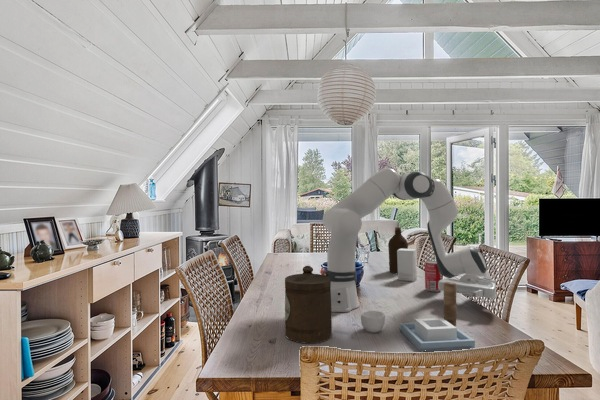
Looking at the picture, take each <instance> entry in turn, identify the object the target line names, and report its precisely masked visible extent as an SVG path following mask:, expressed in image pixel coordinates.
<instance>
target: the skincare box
mask: <svg viewBox="0 0 600 400" xmlns="http://www.w3.org/2000/svg"><path fill="white" fill-rule="evenodd" d="M397 263H398V274H397V280H398V281H405V282H415V281H417V278H418V277H417V276H418V275H417V273H418V271H417V249H415V248H408V249H402V248H401V249H399V250H397Z"/></svg>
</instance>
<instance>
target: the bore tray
mask: <svg viewBox="0 0 600 400" xmlns="http://www.w3.org/2000/svg"><path fill="white" fill-rule="evenodd" d="M399 325H400V326H399V327H400V329H399V331H400V332H401V334H402V335H404V337H405V338H407V340H409V341H410V343H412V344H413V346H414V347H416V348H417V350H419V351H420V350H421V351H425V350H426V351H432V352H446V351H445V350H450V351H460V350H459V349H468V350H471V349H470V348H475V349H476V346H475V345H476V343H475V342H476V341H475V339H473V338H472V337H471V336H469V335H468V334H466V333H465V332H463V331H462V330H461V329H459V328H457V327H456V326H453V325H452V324H451V323H449V322H448V321H446V320H445V319H444V317H431V318H430V317H429V318H414V322H403V323H401V322H400V324H399ZM421 351H420V352H421Z"/></svg>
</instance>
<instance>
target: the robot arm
mask: <svg viewBox="0 0 600 400" xmlns="http://www.w3.org/2000/svg"><path fill="white" fill-rule="evenodd" d="M390 196H394V197H395V199H398V200H401V201H406V200H407V201H408V200H409V201H411V200H412V201H414V200H417V199H420V200H421V202H423V203H424V205H425V207H426V209H427V212H428V214H429V220H428V222H427V223H426V228H427V232H428V236H429V239H430V243H431V247H432V249H433V253H434V257H435V261H436V262H437V267H438V270H439V272H440V274H441V276H443V277H444V278H443V279H442V280H440V281H439V282H438V289H439V290H440V292H444V282H454V283H456V294H460V295H465V296H466V297H470V298H478V297H479V298H486V299H496V297H497V285H496V280H495V279H493V278H491V275H490V273H489V271H488V264H487V260H486V258H485V256H484V255H483V253H482V252H481V251H480V250H478V249H477V248H475V247H472V246H471V247H467V248H463V249H461V250H457V251H454V252H449V253H448V252H447V251H446V248H445V245H444V242H443V241H444V240H443V239H442V232H443V231H445V229H446V228H448V227H449V226H450V225H451V224H452V223H453V222H454V221H455V220H456V219H457V216H458V212H459V211H458V207H457V204H456V202H455V199H454V198H453V196H452V194H451V192H450V191H449V189H448V187H447V186H446V185H445V183H443V182H442V180H441V179H438V178H431V177H430V176H429V175H427V173H425V172H423V171H413V172H408V173H404V174H401V175H400V174H398V172H397V171H396V170H395V169H393V168H389V167H385V168H382V169H380V170H379V171H377V172H376V173H374V174H373V175H371V176H370V177H369V178H368V179H366V180H365V182H363V183H362V184H361V185H359V187H357V189H355V190H353V192H351V193H350V194H348V195H347V196H346V197H344V198H343V199H341V200H340V201H339V202H337V203H336V204H335V205H333V206H332V207H330V208H329V209H327V210H326V211H325V212H324V214H323V216H322V223H323V226H324V228H325V229H326V231H328V232H330V239H329V243H328V248H327V251H326V253H327V258H326V260H327V264H326V265H327V266H326V267H327V269H325V270H324V269H323V268H321V269H320V270H319V273H320V274H321V275H325V276H328V277H330V281H331V288H330V289H331V313H334V312H336V313H337V312H338V313H348V312H351V310H354V309H358V307H360V302H359V298H358V294H357V293H358V292H357V291H358V290H357V285H356V284H357V270H356V246H357V243H358V238H359V236H358V235H359V232H360V231H361V229H362V226H363V225H362V224H363V223H362V219H363V218H364V217H366V216H368V215H370V214H371V213H373V212H374V211H375V210H376V209H377V208H379V207H380V206H381V205H383V203H384V202H386V200H388V199H389V198H390ZM460 275H462V276H461V277H460V278H459V279H454V278H455V277H458V276H460Z"/></svg>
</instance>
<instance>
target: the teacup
mask: <svg viewBox="0 0 600 400" xmlns="http://www.w3.org/2000/svg"><path fill="white" fill-rule="evenodd" d="M385 319H386V316H385V313H384V312H383V311H380V310H374V309H368V310H367V309H366V310H363V311H362V312H361V313H360V321H361V322H360V323H361V325H362V328H363V329H364V330H365V331H366V332H368V333H371V334H374V333H375V334H376V333H379V332H381V331H382V330H383V329H384V328H385V321H386V320H385Z"/></svg>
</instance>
